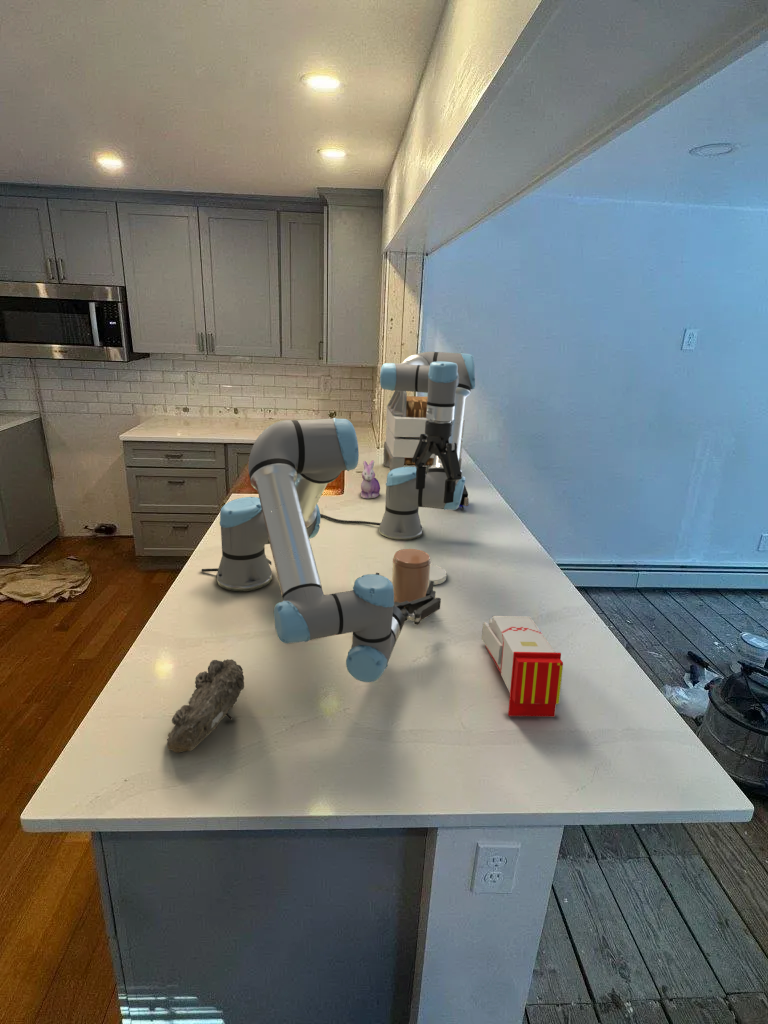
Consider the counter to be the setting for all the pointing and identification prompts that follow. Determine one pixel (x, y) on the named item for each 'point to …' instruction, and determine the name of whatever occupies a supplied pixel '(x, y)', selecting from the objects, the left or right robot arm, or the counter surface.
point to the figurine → (369, 482)
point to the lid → (437, 574)
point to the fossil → (206, 705)
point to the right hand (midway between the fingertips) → (433, 495)
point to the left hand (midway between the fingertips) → (404, 581)
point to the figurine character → (464, 499)
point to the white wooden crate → (406, 430)
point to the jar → (410, 574)
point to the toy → (525, 665)
